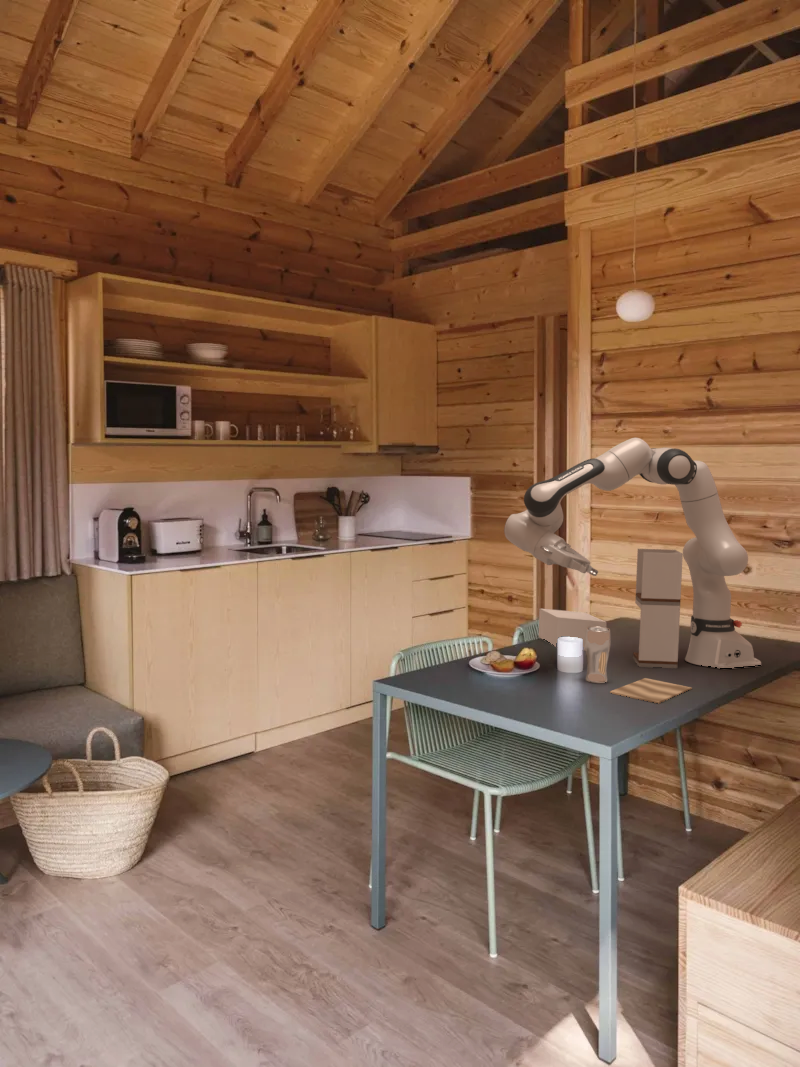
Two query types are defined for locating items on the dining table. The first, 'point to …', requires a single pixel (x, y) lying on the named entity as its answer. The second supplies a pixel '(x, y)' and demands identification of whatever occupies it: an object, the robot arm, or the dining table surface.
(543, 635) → the tan angular block
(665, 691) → the placemat
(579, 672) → the dining table surface
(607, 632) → the beer glass
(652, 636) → the stacked tan pillar
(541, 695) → the dining table surface
